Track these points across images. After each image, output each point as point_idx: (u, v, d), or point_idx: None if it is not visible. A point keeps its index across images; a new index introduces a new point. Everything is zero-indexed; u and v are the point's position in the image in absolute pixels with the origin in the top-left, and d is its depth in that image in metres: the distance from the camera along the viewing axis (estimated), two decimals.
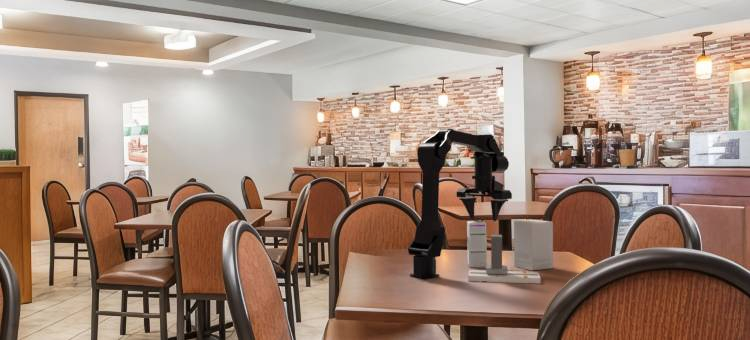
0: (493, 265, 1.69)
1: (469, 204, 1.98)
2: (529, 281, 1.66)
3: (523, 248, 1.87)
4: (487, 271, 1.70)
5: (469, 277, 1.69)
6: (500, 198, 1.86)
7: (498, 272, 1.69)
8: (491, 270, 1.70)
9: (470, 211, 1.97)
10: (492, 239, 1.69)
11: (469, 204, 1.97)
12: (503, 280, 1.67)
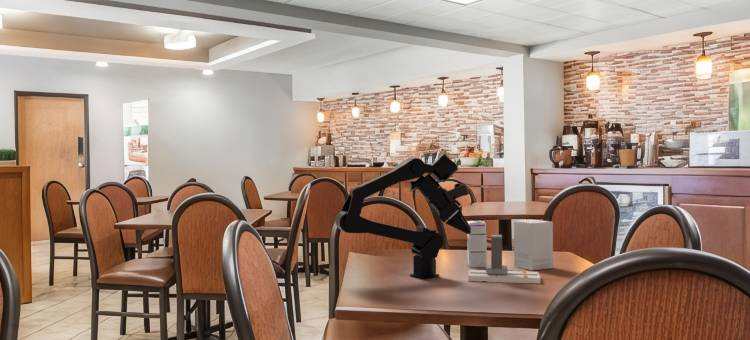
0: (493, 265, 1.69)
1: None
2: (529, 281, 1.66)
3: (523, 248, 1.87)
4: (487, 271, 1.70)
5: (469, 277, 1.69)
6: (443, 221, 1.66)
7: (498, 272, 1.69)
8: (491, 270, 1.70)
9: None
10: (492, 239, 1.69)
11: None
12: (503, 280, 1.67)
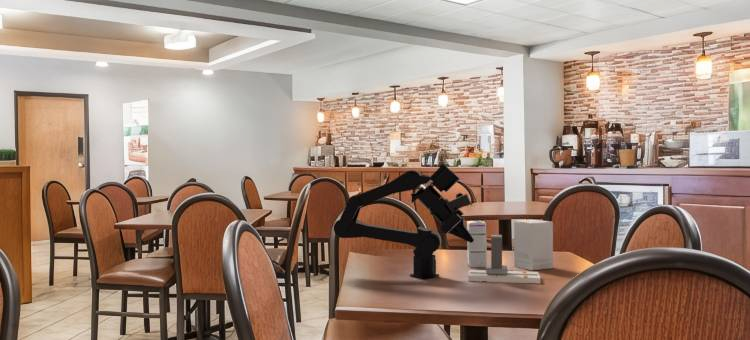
0: (493, 265, 1.69)
1: None
2: (529, 281, 1.66)
3: (523, 248, 1.87)
4: (487, 271, 1.70)
5: (469, 277, 1.69)
6: (445, 233, 1.66)
7: (498, 272, 1.69)
8: (491, 270, 1.70)
9: None
10: (492, 239, 1.69)
11: None
12: (503, 280, 1.67)
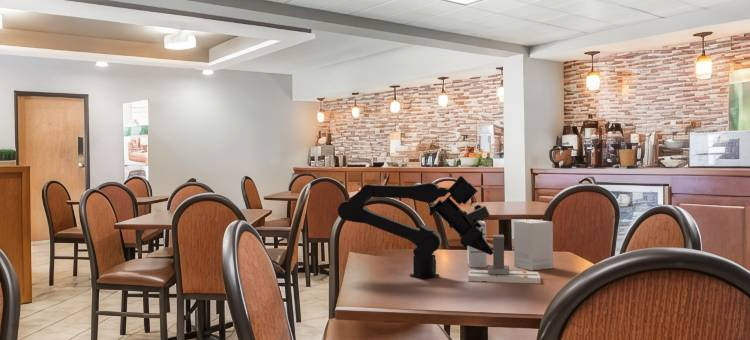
0: (495, 265, 1.69)
1: None
2: (529, 281, 1.66)
3: (523, 248, 1.87)
4: (489, 271, 1.70)
5: (469, 277, 1.69)
6: (464, 246, 1.65)
7: (500, 272, 1.69)
8: (493, 270, 1.70)
9: None
10: (494, 239, 1.69)
11: None
12: (503, 280, 1.67)
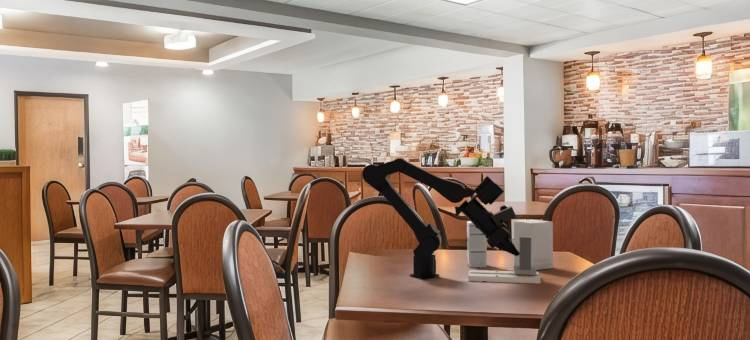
0: (522, 266, 1.68)
1: None
2: (529, 281, 1.66)
3: None
4: (516, 272, 1.69)
5: (469, 277, 1.69)
6: (492, 247, 1.63)
7: (527, 273, 1.68)
8: (520, 271, 1.68)
9: None
10: (521, 240, 1.68)
11: None
12: (503, 280, 1.67)
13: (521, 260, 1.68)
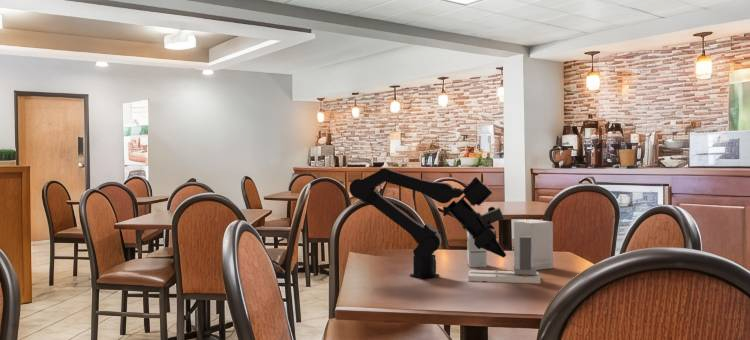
0: (522, 266, 1.68)
1: None
2: (529, 281, 1.66)
3: None
4: (516, 272, 1.69)
5: (469, 277, 1.69)
6: (478, 248, 1.64)
7: (527, 273, 1.68)
8: (520, 271, 1.68)
9: None
10: (521, 240, 1.68)
11: None
12: (503, 280, 1.67)
13: (521, 260, 1.68)
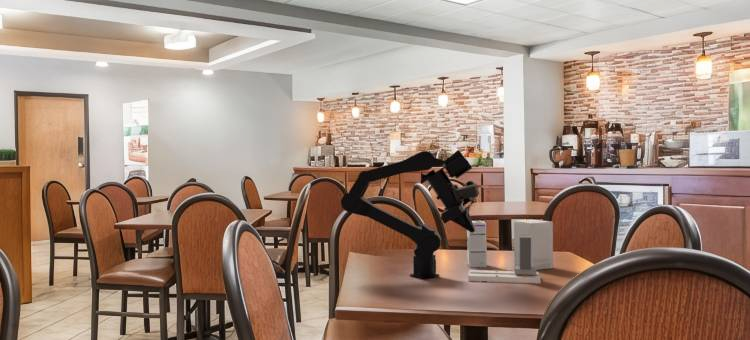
0: (522, 266, 1.68)
1: None
2: (529, 281, 1.66)
3: None
4: (516, 272, 1.69)
5: (469, 277, 1.69)
6: (444, 222, 1.67)
7: (527, 273, 1.68)
8: (520, 271, 1.68)
9: None
10: (521, 240, 1.68)
11: None
12: (503, 280, 1.67)
13: (521, 260, 1.68)
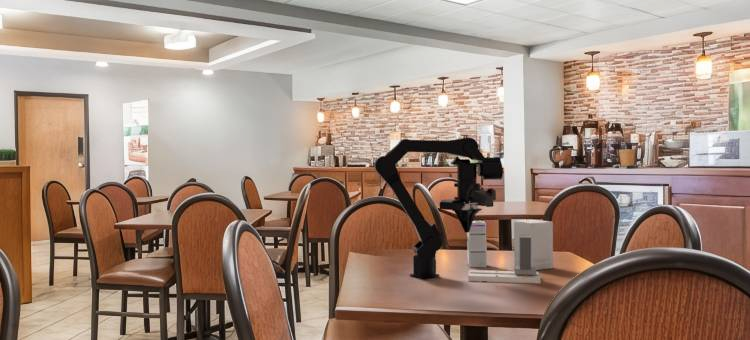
0: (522, 266, 1.68)
1: None
2: (529, 281, 1.66)
3: None
4: (516, 272, 1.69)
5: (469, 277, 1.69)
6: None
7: (527, 273, 1.68)
8: (520, 271, 1.68)
9: None
10: (521, 240, 1.68)
11: None
12: (503, 280, 1.67)
13: (521, 260, 1.68)
